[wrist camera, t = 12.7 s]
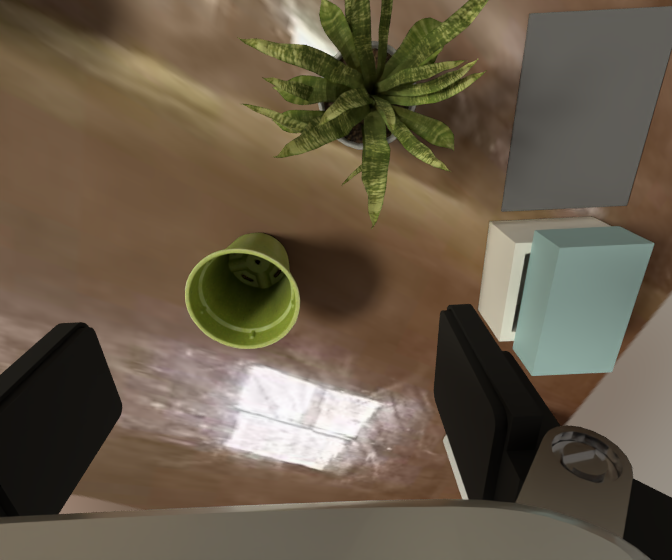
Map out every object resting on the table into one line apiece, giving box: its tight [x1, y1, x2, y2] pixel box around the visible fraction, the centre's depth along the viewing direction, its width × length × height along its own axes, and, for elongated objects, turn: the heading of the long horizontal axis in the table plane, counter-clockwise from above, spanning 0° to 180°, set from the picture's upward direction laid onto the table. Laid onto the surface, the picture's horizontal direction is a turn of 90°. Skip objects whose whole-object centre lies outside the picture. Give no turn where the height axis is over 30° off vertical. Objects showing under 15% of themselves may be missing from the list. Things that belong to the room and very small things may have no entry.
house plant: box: [239, 0, 488, 229], centre depth 26 cm, size 14×14×16 cm
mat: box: [501, 6, 672, 212], centre depth 35 cm, size 16×12×1 cm
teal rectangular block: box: [513, 226, 655, 376], centre depth 34 cm, size 12×7×4 cm, turn 2°
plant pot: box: [185, 233, 300, 349], centre depth 36 cm, size 9×9×9 cm
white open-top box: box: [478, 216, 612, 341], centre depth 38 cm, size 10×10×6 cm
